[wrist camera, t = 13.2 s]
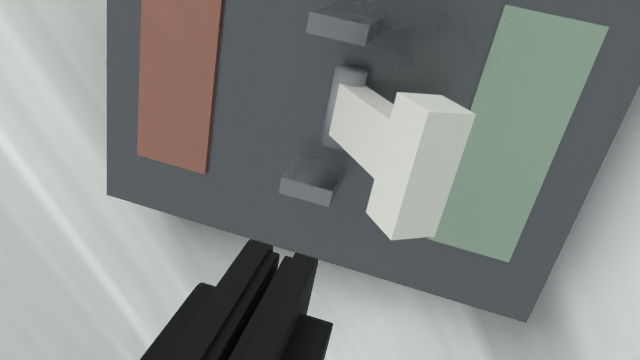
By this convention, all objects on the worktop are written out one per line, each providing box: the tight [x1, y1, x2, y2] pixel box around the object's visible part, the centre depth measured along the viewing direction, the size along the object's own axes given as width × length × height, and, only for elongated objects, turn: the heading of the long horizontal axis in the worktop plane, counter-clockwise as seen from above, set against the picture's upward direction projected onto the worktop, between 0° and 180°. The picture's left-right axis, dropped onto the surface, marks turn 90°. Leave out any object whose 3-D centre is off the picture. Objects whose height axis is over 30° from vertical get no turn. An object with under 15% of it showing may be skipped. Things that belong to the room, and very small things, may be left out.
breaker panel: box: [107, 0, 640, 322], centre depth 30 cm, size 30×22×9 cm
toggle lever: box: [321, 65, 476, 240], centre depth 25 cm, size 2×6×10 cm
